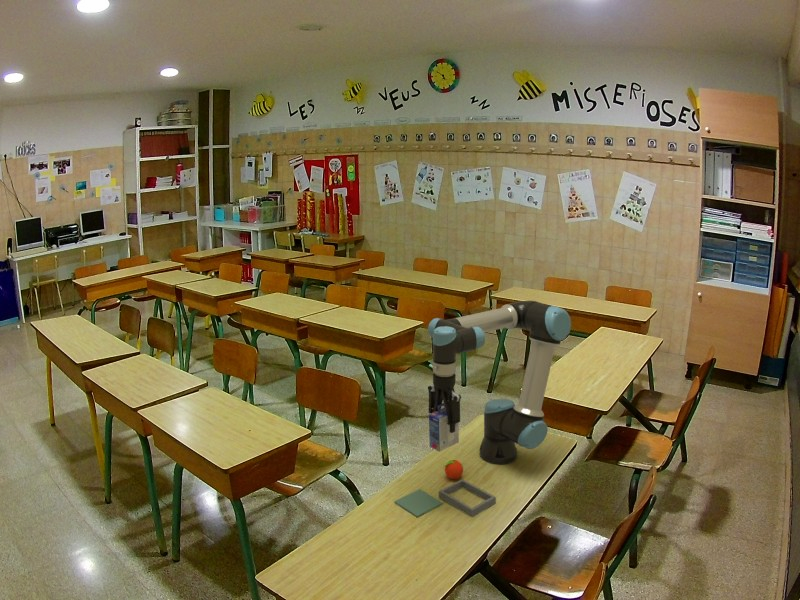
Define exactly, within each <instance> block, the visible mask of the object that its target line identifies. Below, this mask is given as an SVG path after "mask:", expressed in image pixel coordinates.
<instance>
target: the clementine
mask: <svg viewBox="0 0 800 600" xmlns="http://www.w3.org/2000/svg"><path fill="white" fill-rule="evenodd" d="M442 470H444V472H445V475H446V476H447V478H449V479H453V480H457V479H459V478H460V477H461V476H463V473H464V466H463V464H462V462H460V461H459V460H458V459H450V460H448V461H447V463H445V464H444V466H443V469H442Z"/></svg>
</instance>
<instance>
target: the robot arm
mask: <svg viewBox="0 0 800 600" xmlns="http://www.w3.org/2000/svg"><path fill="white" fill-rule="evenodd" d="M571 328H572V319H571V317H570V315H569V313H568V312H567V311H566V310H565V309H564V308H561V307H559V306H556V305H551V304H547V303H543V302H539V301H536V300H523V301H516V302H511V303H510V302H509V303H507V304H504V305H502V306H501V307H500V308H495V309H491V310H485V311H482V312H477V313H472V314H469V315H468V314H467V315H464V316H460V317H453V318H449V319H448V318H447V319H443V318H439V317H436V318H433V319H432V320H431V321H430V322H429V324H428V327H427V333H428V335H429V336H430V338H432V372H433V374H432V385H429V386H427V391H428V414H431V413H433V412H436V411H438V407H437V406H438V405H440V404H443V403H444V404H445V406H446V411H447V416H448V422H449V423H447V442H449V441H452V440H454V432H455V424H456V423H460V422H461V399H462V395H461V394H457V393H456V392H455V391H456V390H455V389H454V388H455V385H456V381H457V380H456V378H457V377H456V375H457V374H456V373H457V372H456V366H457V365H456V363H457V362H456V360H457V355H458V354H461V353H465V352H470V351H471V352H472V351H475V350H477V349H480V348H482V347H484V345H485V343H486V334H485V333H488V332H491V331H496V330H501V329H507V330H512V329H520V330H525V331H528V332H529V334H528V335H529V336H528V338H529V340H530V343H531V345H530V350H529V354H528V358H527V363H526V368H525V371H524V377H523V380H522V381H523V382H522V385H521V389H520V390H521V391H520V396H519V400H518V403H517V404H516V405H515V402H514V401H513V400H511V399H509V398H508V399H507V398H497V399H491V400H489V401H488V402H486V403H485V405H484V411H483V438H482V441H481V443H480V447H479V453H478V455H479V457H480V459H482V460H483V461H485V462H487V463H490V464H492V465H493V464H495V465H507V464H511V463H513V462H515V461H516V460H517V458H518V449H517V447H516V445H519V447H523V448H525V449H528V450H532V449H536V448H537V447H539V446H540V445H541V444H542V443H543V442H544V441H545V439H546V437H547V435H548V430H549V429H548V426H547V423H546V422H545V421H544V417H545V414H544V411H543V410H542V408H543V404H544V398H545V394H546V389H547V385H548V381H549V376H550V372H551V366H552V363H553V358H554V355H555V354H554V353H555V348H557V347H559V346H560V345H561V342H562V341H564V340H565V339H566V338H567V337H568V336H569V334H570V332H571ZM440 409H442V406H441V407H440Z"/></svg>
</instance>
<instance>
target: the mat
mask: <svg viewBox="0 0 800 600" xmlns="http://www.w3.org/2000/svg"><path fill="white" fill-rule="evenodd" d="M394 504H395V505H397V506H398V507H401V508H402V509H404V510H405V511H407V512H408V513H409V514H411V515H412V516H414V517H415V518H419V517H421V516H423V515H426V514H427V513H429V512H431V511H432V510H434V509H436V508H438V507H440V506H443V504H444V502H442V501H441V500H439V499H437V498H436V497H434V496H432V495H431V494H429V493H427V492H426V491H424V490H422V489H421V488H418V489H415V490H414V491H412V492H410V493H408V494H406V495H404V496H402V497H400V498H399V499H396V500H394Z"/></svg>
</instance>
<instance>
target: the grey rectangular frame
mask: <svg viewBox="0 0 800 600" xmlns="http://www.w3.org/2000/svg"><path fill="white" fill-rule="evenodd" d="M462 488H463V489H465V490H467V491H469V492H471V493H472V494H473V495H476V496H478V497H479V498H481V499H483V500H484V501H482V502H480V503H478V504H476V505H475V506H473V507H472V506H469V505H468V504H466V503H464V502H462V501H461V500H460V499H457V498H455V497H454V496H452V495H451V494H453V493H455V492H456V491H458V490H460V489H462ZM438 498H440V499H441V500H443V501H444V502H446V503H448V504H449V505H452V506H453V507H454V508H457V509H458V510H459V511H461V512H463V513H464V514H466V515H469V516H470V517H471V518H473V517H474V516H477V515H478V514H479V513H482V512H483V511H485V510H487V509H489V508H490V507H492V506H494V505H495V504H496V501H497V497H496V496H494V495H493V494H491V493H489V492H487V491H486V490H484V489H482V488H480V487H478V486H476V485H475V484H472V483H470V482H469V481H467V480H465V479H463V478H462V479H460V480H458V481H456V482H454V483H452V484H450V485H448V486H446V487H444V488H443V489H442V488H441V489H440V490H438Z"/></svg>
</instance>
